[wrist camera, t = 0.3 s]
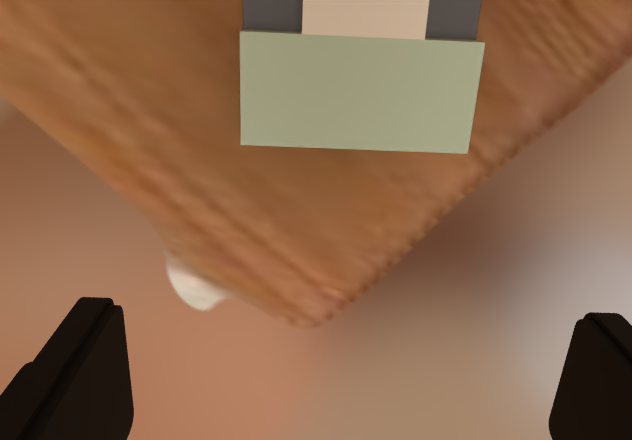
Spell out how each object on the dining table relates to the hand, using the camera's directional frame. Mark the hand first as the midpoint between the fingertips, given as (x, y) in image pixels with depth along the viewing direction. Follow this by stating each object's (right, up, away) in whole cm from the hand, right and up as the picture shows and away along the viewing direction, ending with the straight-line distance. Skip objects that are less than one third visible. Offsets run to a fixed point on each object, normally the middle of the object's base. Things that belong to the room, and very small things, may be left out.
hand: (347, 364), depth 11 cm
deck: (+3, +18, +25) cm, 31 cm away
